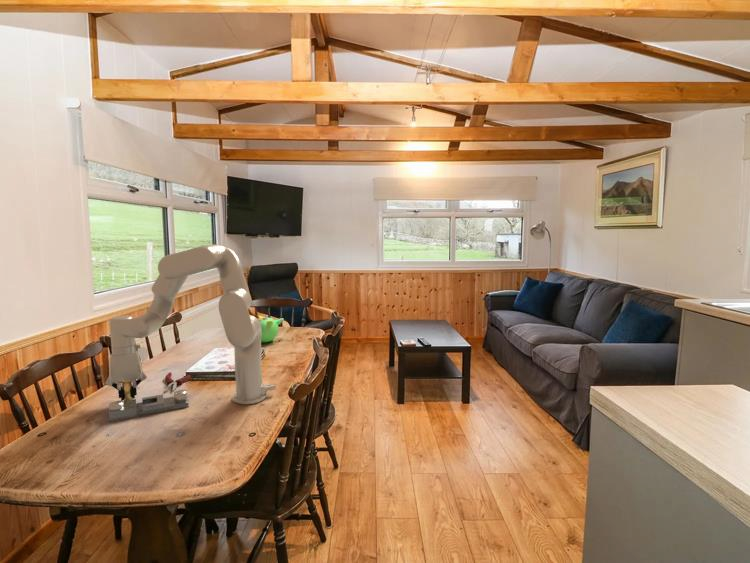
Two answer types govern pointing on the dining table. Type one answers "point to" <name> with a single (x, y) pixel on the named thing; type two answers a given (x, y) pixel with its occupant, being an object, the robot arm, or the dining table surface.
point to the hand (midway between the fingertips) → (128, 397)
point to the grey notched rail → (147, 406)
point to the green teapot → (269, 328)
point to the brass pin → (127, 390)
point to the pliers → (177, 383)
